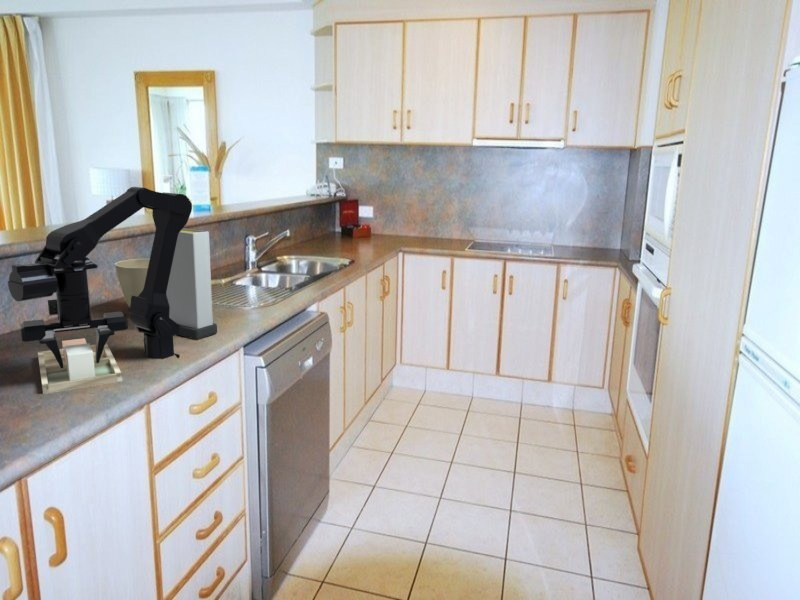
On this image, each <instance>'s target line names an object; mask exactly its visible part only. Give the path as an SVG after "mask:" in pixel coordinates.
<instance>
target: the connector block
mask: <svg viewBox="0 0 800 600" xmlns="http://www.w3.org/2000/svg"><path fill="white" fill-rule="evenodd" d="M90 345H91V343H90V342H88V343H87V342H86V343H85V344H77V345H69V346H65V352H66V362H67V371H68V376H69V380H76V379H82V378H89V377H95V368H94V357H93V351H92V349H91V346H90Z"/></svg>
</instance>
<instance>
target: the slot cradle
mask: <svg viewBox="0 0 800 600" xmlns="http://www.w3.org/2000/svg"><path fill="white" fill-rule="evenodd" d="M90 346H91V349H92V351H93V357H94V368H95V377H89V378H82V379H76V380H69V376H68V371H67V363H66V364H65V362H64V356H63V348H59V350H60V353H61V357H62V361H63V368H61V367H60V365H59V363H58V362H57V360H56V358H55V356H54V354H53V353H52V351H51V350H50V349H48V350H43V351H37V357H38V365H39V372H40V380H41V389H42V394H43V395H44V394H52V393H57V392H63V391H64V392H65V391H70V390H76V389H83V388H88V387H95V386H100V385H105V384H112V383H117V382H118V383H119V382H123V374H122V371H121V370H120V369H121V368H120V367H119V365H118V364H117V360H115V356H114V355H113V353H112V351H111V349H110V347H109V345H108V343H107V342H106V344H105V346H104V349H103V352H102V355H101V358H100V361H99V363H96V356H95V352H96V344H90Z"/></svg>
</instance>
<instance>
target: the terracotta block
mask: <svg viewBox="0 0 800 600" xmlns="http://www.w3.org/2000/svg"><path fill="white" fill-rule="evenodd" d="M85 343H87V340H86V338H85V337H83V338H76V339H67V340H61V345H62V346H61V347H62V349H63V356H64V362H65V364H66V363H67V362H66V352H65V346H69V345H77V344H85Z"/></svg>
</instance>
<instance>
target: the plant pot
mask: <svg viewBox="0 0 800 600" xmlns="http://www.w3.org/2000/svg"><path fill="white" fill-rule="evenodd" d="M149 260H150V258H132V259H124V260H120V261H117V262H115V263H114V267H115V270H116V275H117V279H118V282H119V285H120V288H121V292H122V294H123V297H124V298H125V302H126V304H127V306H128V308H130V305H131V297H132V296H137V297H138V296H139V294H140V293H141V292H142V291H143V289H144V285H145V280H146V275H147V270H148V265H149Z"/></svg>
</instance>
